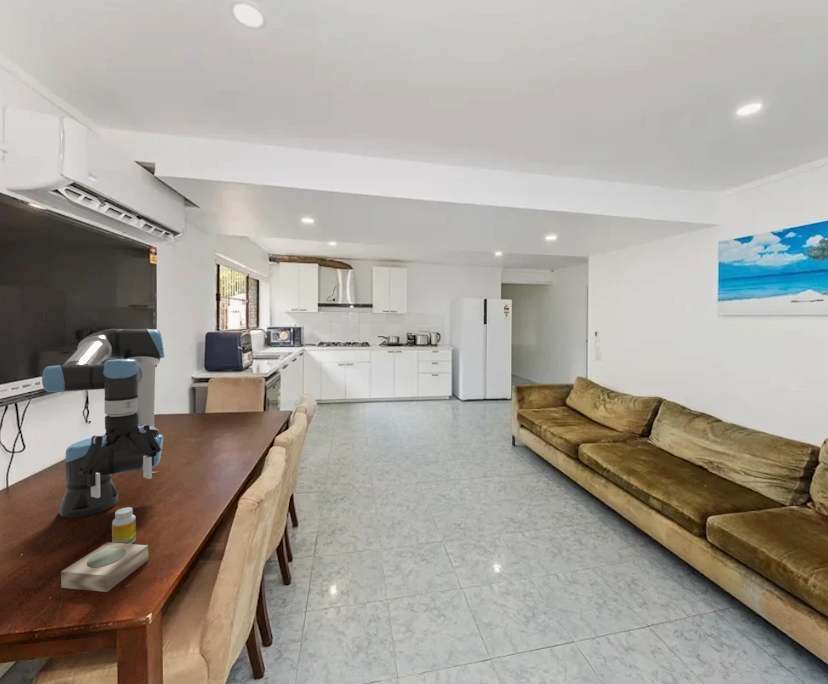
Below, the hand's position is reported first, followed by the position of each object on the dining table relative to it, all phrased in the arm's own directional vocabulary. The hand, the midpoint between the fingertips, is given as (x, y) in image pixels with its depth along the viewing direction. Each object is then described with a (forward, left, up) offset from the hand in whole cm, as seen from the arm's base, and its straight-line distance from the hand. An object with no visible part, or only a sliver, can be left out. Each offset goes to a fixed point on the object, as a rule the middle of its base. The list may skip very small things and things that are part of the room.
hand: (123, 486), depth 105 cm
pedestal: (+10, -10, -17) cm, 22 cm away
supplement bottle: (0, 0, -17) cm, 17 cm away
